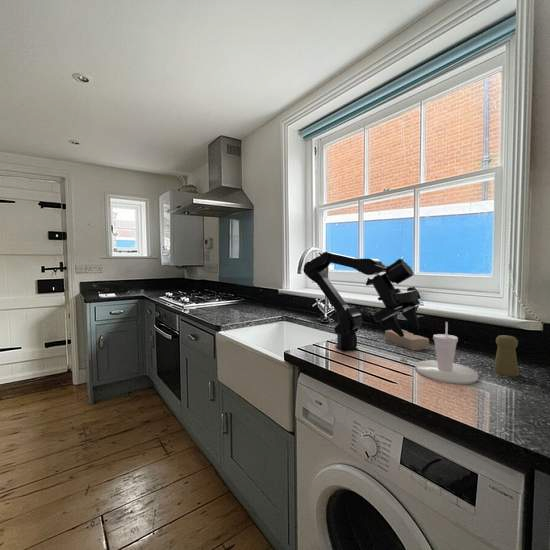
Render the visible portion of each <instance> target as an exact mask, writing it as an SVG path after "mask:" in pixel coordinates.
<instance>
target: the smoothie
mask: <svg viewBox="0 0 550 550" xmlns="http://www.w3.org/2000/svg"><path fill="white" fill-rule="evenodd" d="M448 327H449V324H448V321H445V333H443V334H442V333H437V334H433V336H432V340H433V341H434V348H435V356H436V357H435V359H436V361H437V366H438V369H440V370H443V371H452V368H453V363H455V362H454V359H455V354H456V349H457V343H458V342H459V338H458V336H456V335H451V334H448V331H449V329H448Z"/></svg>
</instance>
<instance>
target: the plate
mask: <svg viewBox="0 0 550 550" xmlns="http://www.w3.org/2000/svg"><path fill="white" fill-rule="evenodd" d="M414 367H415V368H414V369H415V372H417V374H419V375H420V376H422V377H424V378H427V379H430V380H433V381H436V382H440V383H446V384H453V385H471V384H475V383H477V382H478V380H479V373H478V372H477V371H476V370H475V369H472V368H471V367H469V366H466V365H463V364H460V363H456V362H453V368H452V371H443V370H440V369H438V366H437V359H436V360H432V359H431V360H429V359H427V360H420V361H418V362H416V363H415V366H414Z"/></svg>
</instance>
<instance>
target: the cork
mask: <svg viewBox="0 0 550 550" xmlns="http://www.w3.org/2000/svg"><path fill="white" fill-rule="evenodd" d="M495 343H496V345H497V349H496V354H495V358H494V364H493V369H492V371H493V372H494V373H496V374H498V375H502V376H507V377H518V376H520V375H519V374H520V373H519V367H518V359H517V358H518V357H517V352H516V348H517V347H518V346H519V340H518V339H517V338H516V336H512V335H505V334H502V335H498V336H497V337H496V338H495Z"/></svg>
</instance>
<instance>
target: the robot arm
mask: <svg viewBox="0 0 550 550" xmlns="http://www.w3.org/2000/svg"><path fill="white" fill-rule="evenodd" d="M330 264H335V265H339V266H343V267H347V268H352V269H354V270H356V271H358V272H359V273H362V274H364V275H366V276H373V277H367V281H366V283H365V286H373V288H374V289H375V291H376V293H377V295H378V296H379V297H378V298H377V300H378V301H379V302H380V301H381V302H382V304H383V305H384V307H383V308H382V309H380V310H377V311H376V312H374V313H373V319H374V320H375V323H377V322H379V324H382V325H383V326H385V327H386V328H388V329H389V330H392V331H394V332H395V333H396V334H398V335H399V336H400V337H403V336H404V333H403V331H402V330H403V329H402V327H401V325H400V323H399V321H398V315H399V314H398V312H401V315H402V316H403V317H404V318H405V319H406V321H407V322H408V323H409V324H410V325H411V326H412V327H413V328H415V330H420V324H419V319H418V314H417V312H418V308H419V307H420V304H421V302H420V300H419V297H418V296H419V294H420V292H419V291H418V289H417V288H416V287H415V286H410V287H407V290H404V291H401V289H400V288H395V286H394V284H396V285H399V284H400V283H402V282H404V281H406V280H408V279H410V278H411V277H413V276H414V272H413V268H411V266H410V265H408V263H406V262H405V261H404V260H403V258H399V259H397V260H396V261H395V262H393V263H392V264H390V265H386V264H383V262H382V261H381V260H380V259H378V258H358V257H353V256H349V255H344V254H339V253H334V252H332V251H325V252H323V253H321V254H320V255H318V256H316V257H315V258H313V259H311V260H310V261H307V262H305V263H304V265H303V273H304V274H305V275H306V276H307V278H309V280H311V281H313V282H314V283H315V284H316V285H317V286H318V287H319V289H320V290H321V291H322V293H323V294H324V295H325V297H326V298H327V301H329V303H330V304H331V306H332V308H334V310H335V311H336V315H337V319H338V322H339V323H338V324H337V325H335V327H334V331H335V332H334V333H335V334H337V336H336V337H337V338H336V340H337V341H336V343H337V344H336V345H334V346H335V348H337V349H338V350H339V351H342V352H349V351H351V352H352V351H358V350H359V347H358V336H357V332H358V331H359V328H360V327H361V326H362V325H363V322H364V321H363V317H362V315H363V314H362V313H360V312H359V310H358V308H357V307H356V306H349V305H348V304H347V302H345V300H344V299H343V297H342V296H341V295H340V293H339V292H338V290H337V289H336V288H335V286H334V285H333V284H332V282H331V280H329V278H328V276H327V270H326V269H327V268H328V267H329V266H330ZM381 273H383V274H381ZM395 313H396V314H395Z"/></svg>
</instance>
